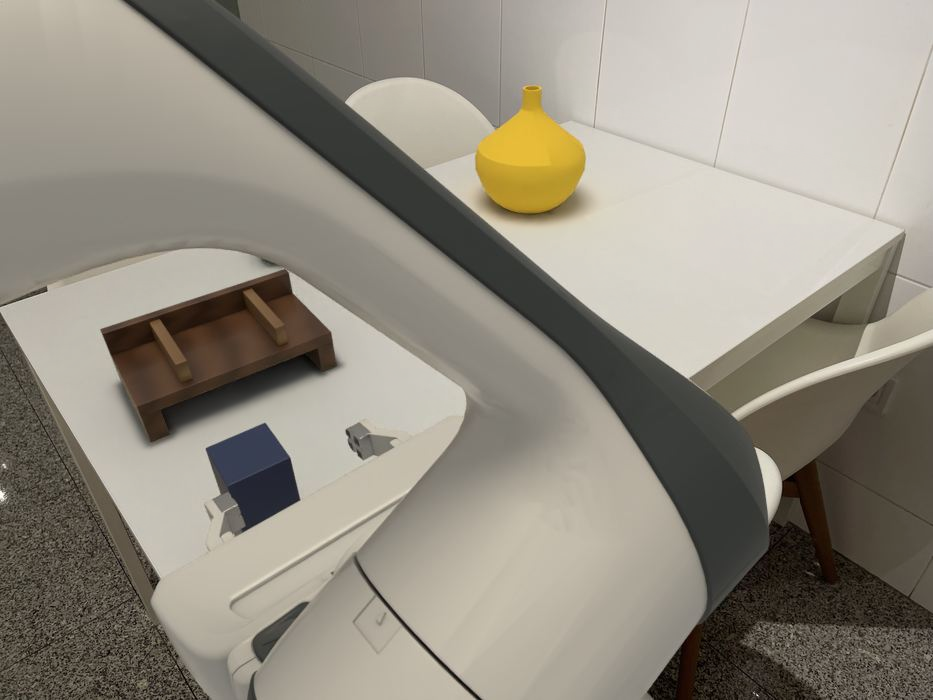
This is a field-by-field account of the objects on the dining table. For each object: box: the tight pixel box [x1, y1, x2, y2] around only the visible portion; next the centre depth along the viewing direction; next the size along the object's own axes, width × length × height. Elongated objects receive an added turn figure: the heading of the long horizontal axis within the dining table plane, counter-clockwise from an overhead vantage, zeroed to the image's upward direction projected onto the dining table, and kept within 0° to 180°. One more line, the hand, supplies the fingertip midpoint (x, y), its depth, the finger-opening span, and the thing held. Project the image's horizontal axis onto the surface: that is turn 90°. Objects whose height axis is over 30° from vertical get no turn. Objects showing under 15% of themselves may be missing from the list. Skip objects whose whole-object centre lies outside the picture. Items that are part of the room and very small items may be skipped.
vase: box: [474, 85, 587, 215], centre depth 115 cm, size 18×18×19 cm
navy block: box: [205, 422, 301, 537], centre depth 58 cm, size 5×5×13 cm
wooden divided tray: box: [99, 268, 337, 442], centre depth 81 cm, size 22×12×8 cm, turn 125°
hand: (290, 466), depth 43 cm, fingers open, 8 cm apart
